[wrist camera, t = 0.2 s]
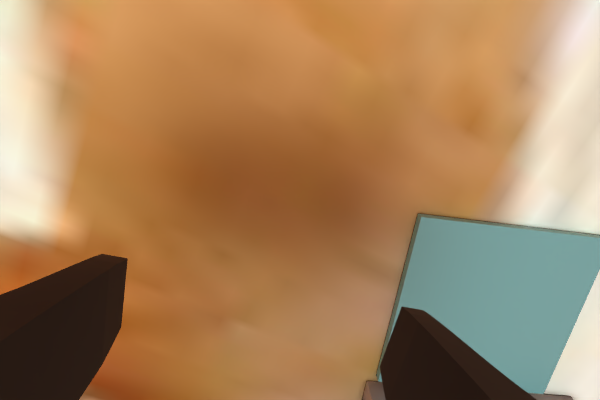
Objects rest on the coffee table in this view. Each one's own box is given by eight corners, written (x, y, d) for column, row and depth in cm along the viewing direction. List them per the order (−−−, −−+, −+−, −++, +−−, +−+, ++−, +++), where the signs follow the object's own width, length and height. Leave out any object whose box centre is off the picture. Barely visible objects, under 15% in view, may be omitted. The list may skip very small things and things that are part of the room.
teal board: (538, 388, 24) (543, 394, 23) (376, 375, 23) (378, 381, 22) (605, 235, 20) (612, 239, 20) (418, 213, 19) (421, 216, 19)
